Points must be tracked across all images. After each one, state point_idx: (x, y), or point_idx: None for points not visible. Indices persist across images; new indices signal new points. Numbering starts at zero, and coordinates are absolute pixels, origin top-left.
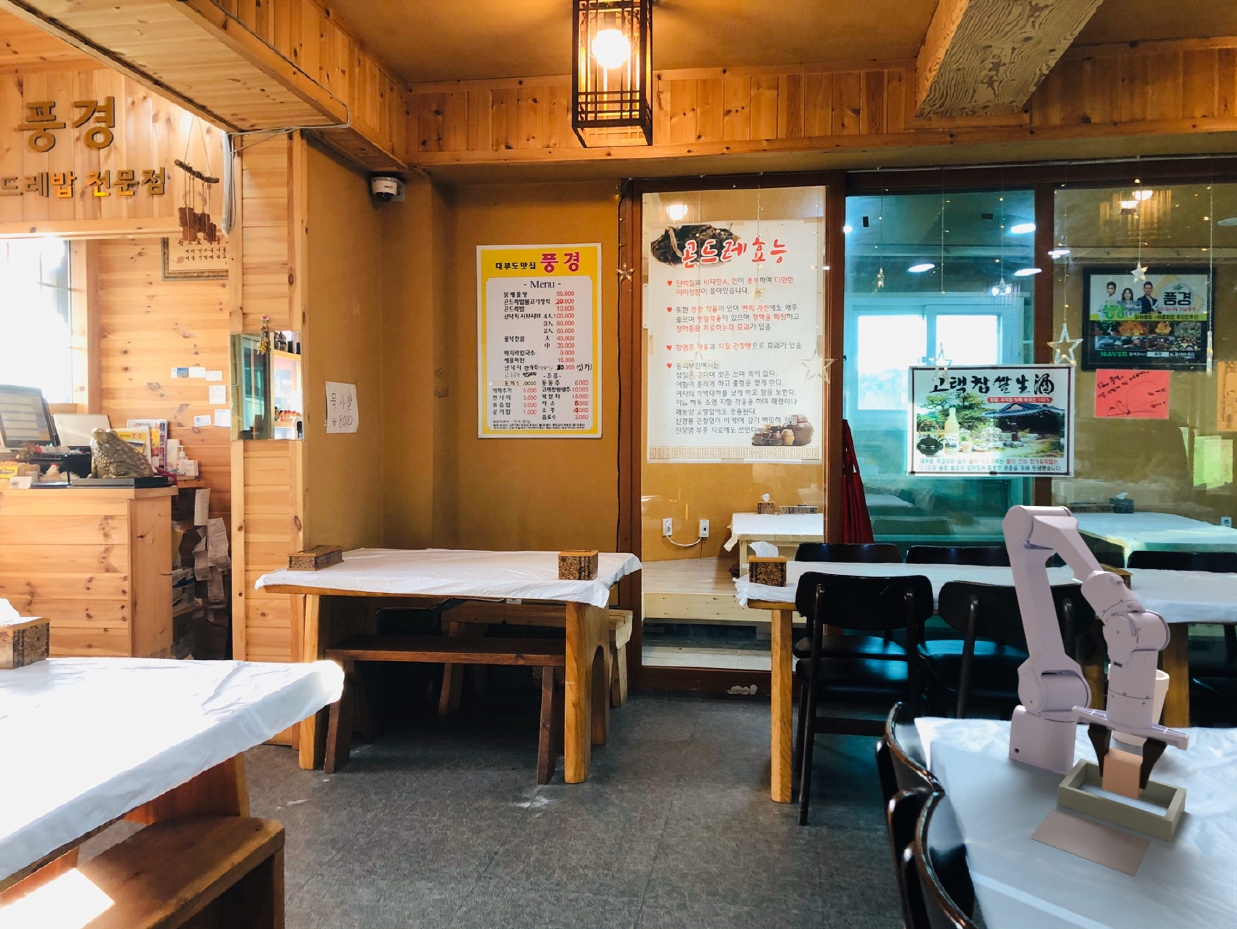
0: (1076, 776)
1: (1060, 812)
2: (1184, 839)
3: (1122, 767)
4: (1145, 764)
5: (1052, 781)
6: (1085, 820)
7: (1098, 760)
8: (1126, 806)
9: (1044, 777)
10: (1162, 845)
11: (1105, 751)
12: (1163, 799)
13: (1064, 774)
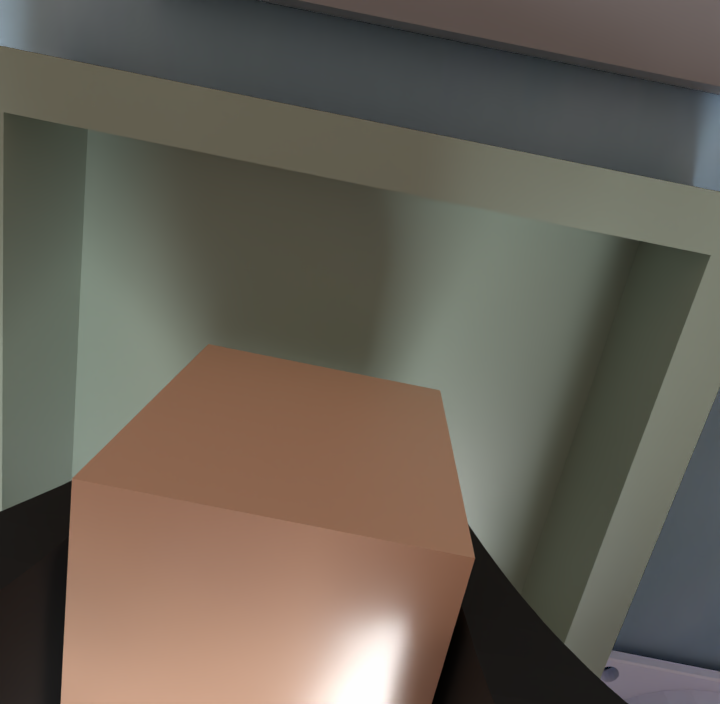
0: (600, 525)
1: (706, 42)
2: None
3: (276, 472)
4: (9, 552)
5: (664, 585)
6: (542, 13)
7: (509, 581)
8: (269, 124)
9: (704, 612)
10: (97, 60)
11: (461, 683)
12: None
13: (601, 677)
